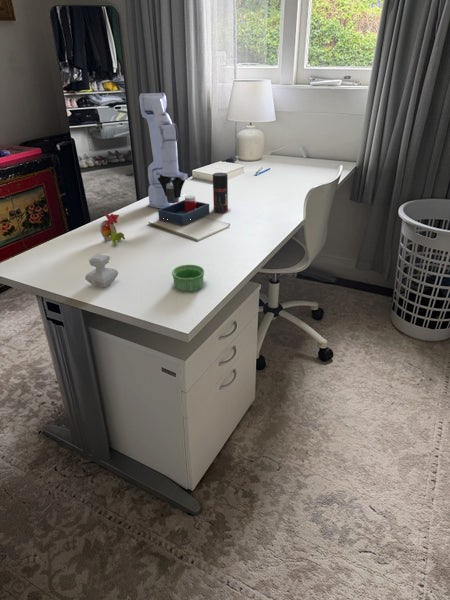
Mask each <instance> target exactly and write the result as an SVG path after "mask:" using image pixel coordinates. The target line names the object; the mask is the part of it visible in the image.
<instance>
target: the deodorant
mask: <svg viewBox="0 0 450 600" xmlns="http://www.w3.org/2000/svg"><path fill="white" fill-rule="evenodd" d="M228 179H229V178H228V173H227V172H214V173H212V197H213V201H212V202H213V212H214V213H217V214H224V213H228V212H229V188H228V187H229V185H228Z"/></svg>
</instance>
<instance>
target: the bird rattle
mask: <svg viewBox="0 0 450 600" xmlns="http://www.w3.org/2000/svg"><path fill="white" fill-rule="evenodd" d="M104 216H105V218H106V219H105V220H103V221H101V224H100V226H99V227H100V229H99V231H100V234H101V236H102V237H103V240H104V242H112V244H113V246H115V245H116V242H121V240H126V238H125V234H124V233H123V232H122V231H121V232H117V227H116V225H115V224H118V218H119V217H120V215H119V214H114V213H111V214H109V213H107V212H104Z"/></svg>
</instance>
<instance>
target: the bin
mask: <svg viewBox="0 0 450 600" xmlns="http://www.w3.org/2000/svg"><path fill="white" fill-rule="evenodd" d="M157 211H158V212H157V214H158V220H159V221H162V222H166V223H171V224H175V225H178V226H185V225H187V224H189V223H192V222H194V221H196V220H198V219H201V218H203V217H205V216H207V215H209V214H210V203H206V202H201V201H197V200H196V209H195V210H192V211H190V212H187V213H185V199H183V200H181V201H180V200H179V202H177V203H175V204H173V205H170V206H168V207H165V208H162V209H161V208H159V209H158V210H157ZM163 218H164V219H163ZM167 219H168V220H167ZM190 219H191V220H190Z"/></svg>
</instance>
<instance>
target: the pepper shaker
mask: <svg viewBox="0 0 450 600" xmlns="http://www.w3.org/2000/svg"><path fill="white" fill-rule="evenodd" d="M166 194H167V202H168V203H178V202H180V197H179V198H175V193H174V187H173V184H172V183H168V184H166Z"/></svg>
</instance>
